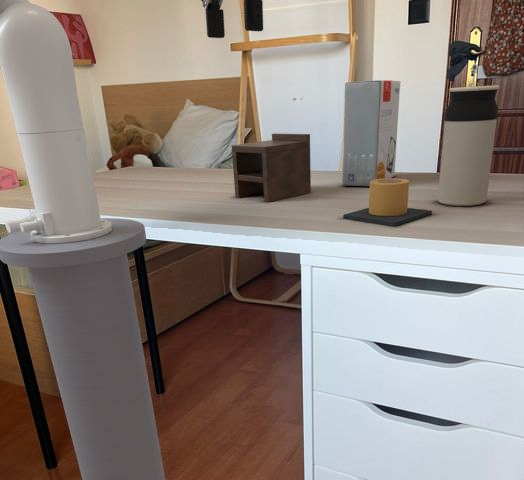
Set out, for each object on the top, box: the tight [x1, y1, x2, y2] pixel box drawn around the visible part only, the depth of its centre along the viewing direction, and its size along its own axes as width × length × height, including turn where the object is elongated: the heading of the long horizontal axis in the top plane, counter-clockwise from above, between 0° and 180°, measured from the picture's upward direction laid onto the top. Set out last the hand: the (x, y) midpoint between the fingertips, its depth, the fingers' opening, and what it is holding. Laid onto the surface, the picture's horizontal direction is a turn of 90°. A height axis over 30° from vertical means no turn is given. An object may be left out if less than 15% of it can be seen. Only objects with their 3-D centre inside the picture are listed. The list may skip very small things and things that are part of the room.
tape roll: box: [368, 177, 410, 216], centre depth 83 cm, size 6×6×5 cm
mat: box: [342, 207, 433, 227], centre depth 85 cm, size 10×10×1 cm
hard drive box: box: [341, 79, 401, 187], centre depth 113 cm, size 16×8×20 cm, turn 153°
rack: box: [231, 132, 312, 203], centre depth 106 cm, size 12×10×11 cm
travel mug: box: [437, 84, 500, 207], centre depth 88 cm, size 8×8×18 cm
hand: (234, 34), depth 83 cm, fingers open, 9 cm apart
